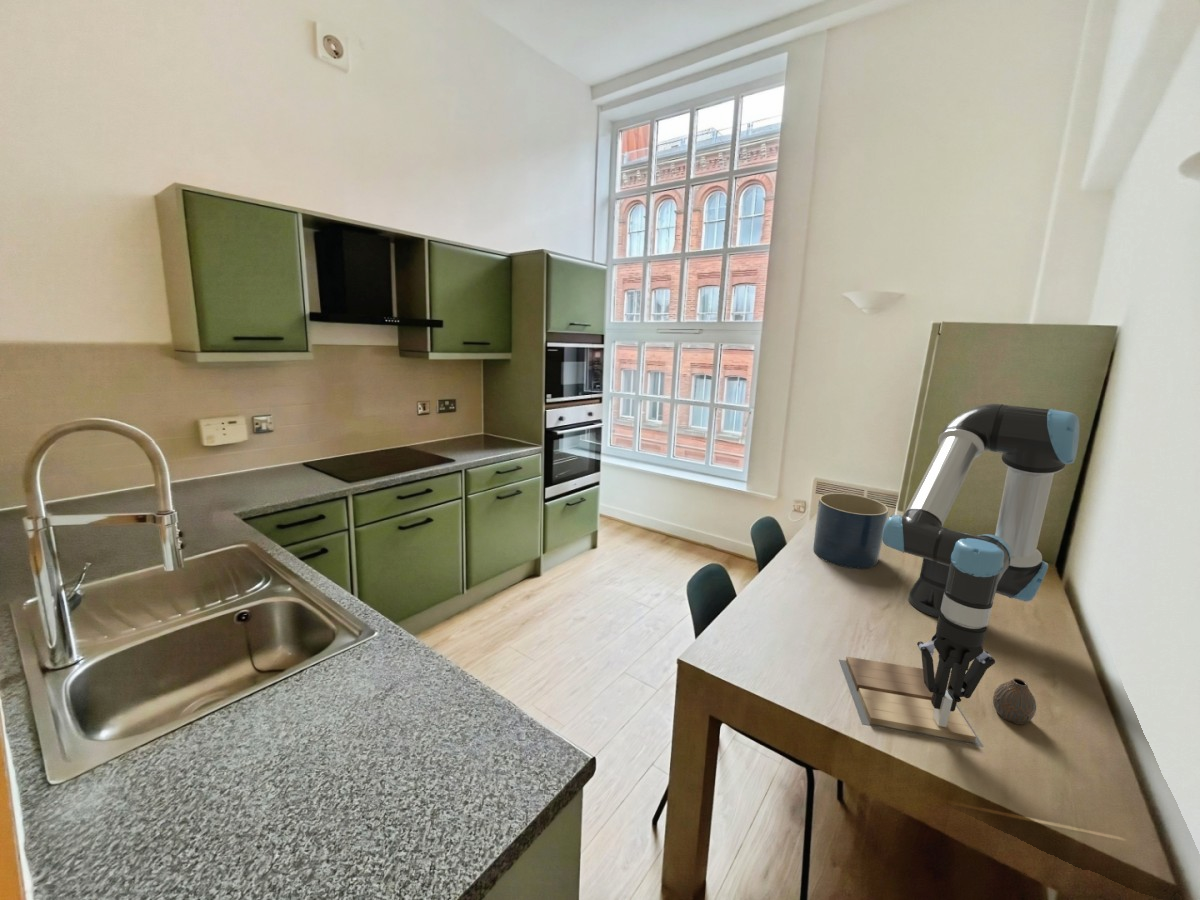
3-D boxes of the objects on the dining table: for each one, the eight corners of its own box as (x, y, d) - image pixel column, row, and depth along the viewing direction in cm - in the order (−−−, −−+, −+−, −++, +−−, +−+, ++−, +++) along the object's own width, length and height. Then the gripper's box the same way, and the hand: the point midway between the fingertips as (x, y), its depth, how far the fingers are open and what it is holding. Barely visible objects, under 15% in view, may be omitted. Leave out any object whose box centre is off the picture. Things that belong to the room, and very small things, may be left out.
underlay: (938, 677, 116) (938, 675, 116) (983, 748, 97) (983, 746, 96) (838, 660, 121) (838, 659, 121) (861, 725, 101) (862, 724, 101)
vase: (981, 705, 108) (990, 671, 106) (1010, 704, 108) (1020, 670, 106) (1009, 730, 101) (1019, 694, 99) (1040, 729, 102) (1051, 693, 100)
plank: (953, 710, 106) (955, 704, 105) (974, 743, 97) (976, 736, 97) (857, 693, 110) (858, 687, 109) (869, 723, 101) (870, 717, 101)
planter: (805, 540, 191) (811, 491, 186) (865, 545, 188) (873, 495, 183) (821, 566, 170) (830, 512, 165) (889, 572, 167) (900, 517, 162)
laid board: (932, 675, 116) (933, 670, 116) (951, 706, 107) (952, 700, 106) (845, 661, 120) (846, 656, 120) (856, 690, 111) (857, 684, 110)
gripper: (991, 613, 97) (966, 714, 102) (918, 603, 99) (897, 702, 105) (1013, 635, 90) (985, 742, 95) (933, 623, 92) (910, 728, 98)
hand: (939, 721), depth 100 cm, fingers closed
